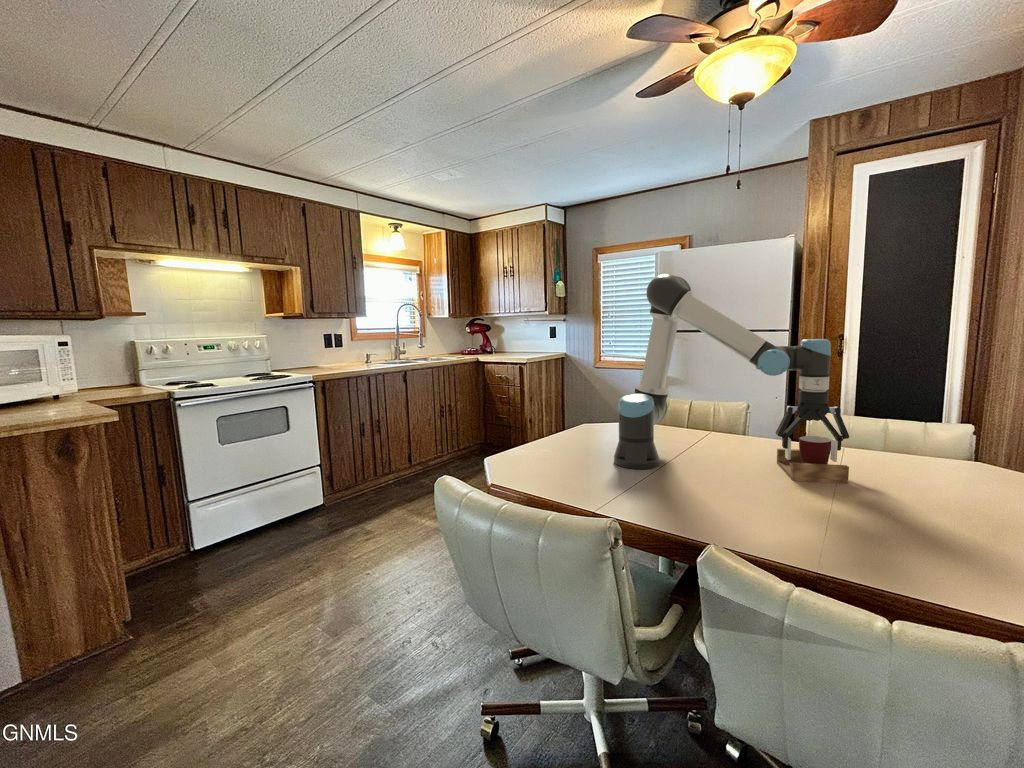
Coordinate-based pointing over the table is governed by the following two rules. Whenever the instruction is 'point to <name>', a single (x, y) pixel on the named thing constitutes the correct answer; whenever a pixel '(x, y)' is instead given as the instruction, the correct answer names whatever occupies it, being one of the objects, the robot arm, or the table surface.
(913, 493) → the table surface
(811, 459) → the mug
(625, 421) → the robot arm
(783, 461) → the rack
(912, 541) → the table surface
